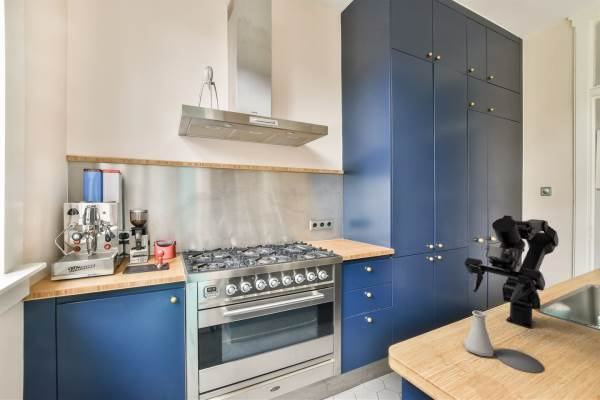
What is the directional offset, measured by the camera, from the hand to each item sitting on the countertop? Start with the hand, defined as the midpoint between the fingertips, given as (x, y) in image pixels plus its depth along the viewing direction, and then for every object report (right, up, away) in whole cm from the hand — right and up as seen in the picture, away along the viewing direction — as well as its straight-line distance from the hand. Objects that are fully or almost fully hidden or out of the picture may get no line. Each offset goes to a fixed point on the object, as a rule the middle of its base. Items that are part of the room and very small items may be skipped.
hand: (491, 296), depth 77 cm
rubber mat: (+1, -13, -8) cm, 16 cm away
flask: (-6, -13, -4) cm, 15 cm away
